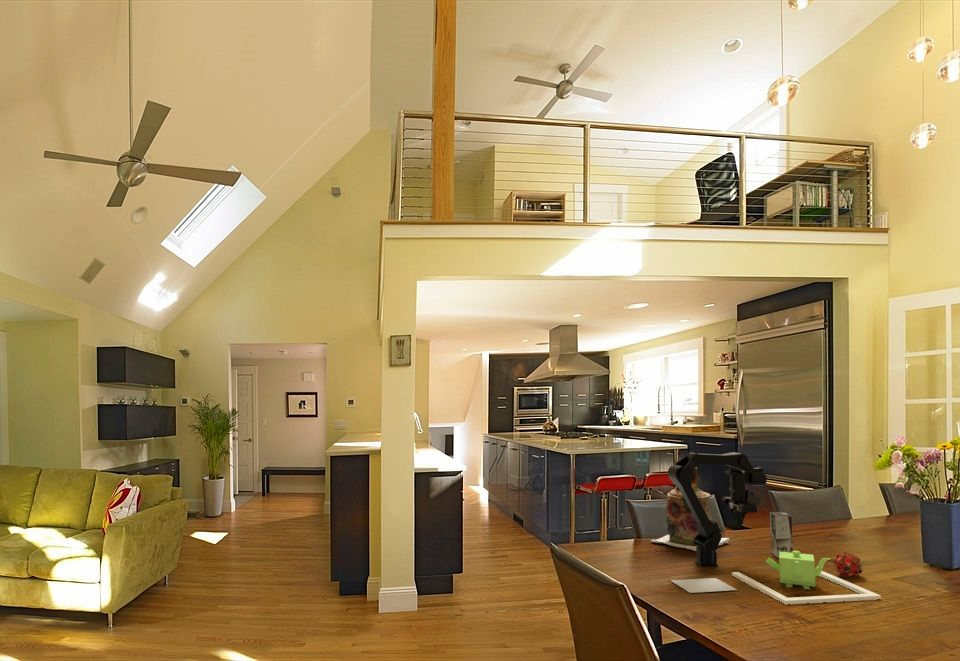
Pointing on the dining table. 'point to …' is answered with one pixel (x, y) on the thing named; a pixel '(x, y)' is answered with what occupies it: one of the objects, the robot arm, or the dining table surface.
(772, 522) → the coffee box
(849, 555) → the dragon fruit
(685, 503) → the cookie jar
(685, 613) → the dining table surface
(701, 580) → the paper stack
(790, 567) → the kettle
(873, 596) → the kettle dock outline
